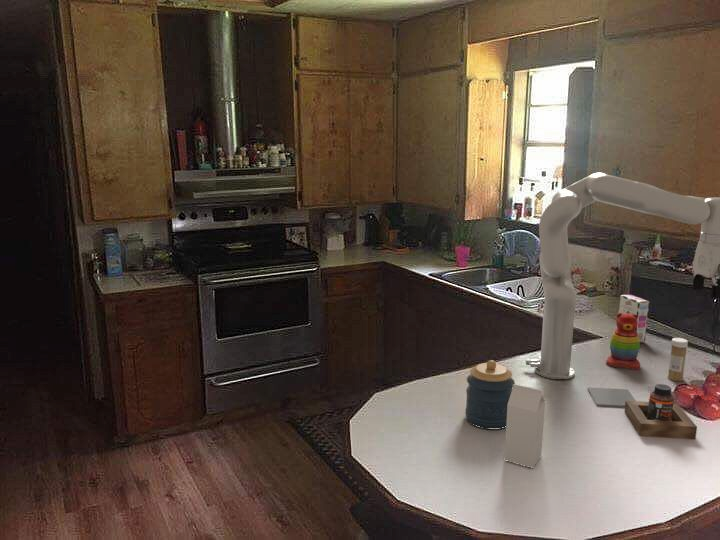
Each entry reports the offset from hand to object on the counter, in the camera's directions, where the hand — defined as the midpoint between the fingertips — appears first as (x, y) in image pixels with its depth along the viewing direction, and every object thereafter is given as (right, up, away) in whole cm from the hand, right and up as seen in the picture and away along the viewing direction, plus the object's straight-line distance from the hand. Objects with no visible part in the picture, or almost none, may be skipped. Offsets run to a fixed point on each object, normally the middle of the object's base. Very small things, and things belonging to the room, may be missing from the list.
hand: (706, 293), depth 188 cm
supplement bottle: (-25, -36, -20) cm, 48 cm away
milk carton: (-66, -40, -37) cm, 86 cm away
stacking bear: (-15, -25, +24) cm, 38 cm away
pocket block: (-25, -35, -20) cm, 47 cm away
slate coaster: (-30, -31, -3) cm, 44 cm away
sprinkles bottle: (-4, -28, +11) cm, 31 cm away
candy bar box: (-2, -19, +49) cm, 53 cm away
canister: (-71, -35, -17) cm, 80 cm away
